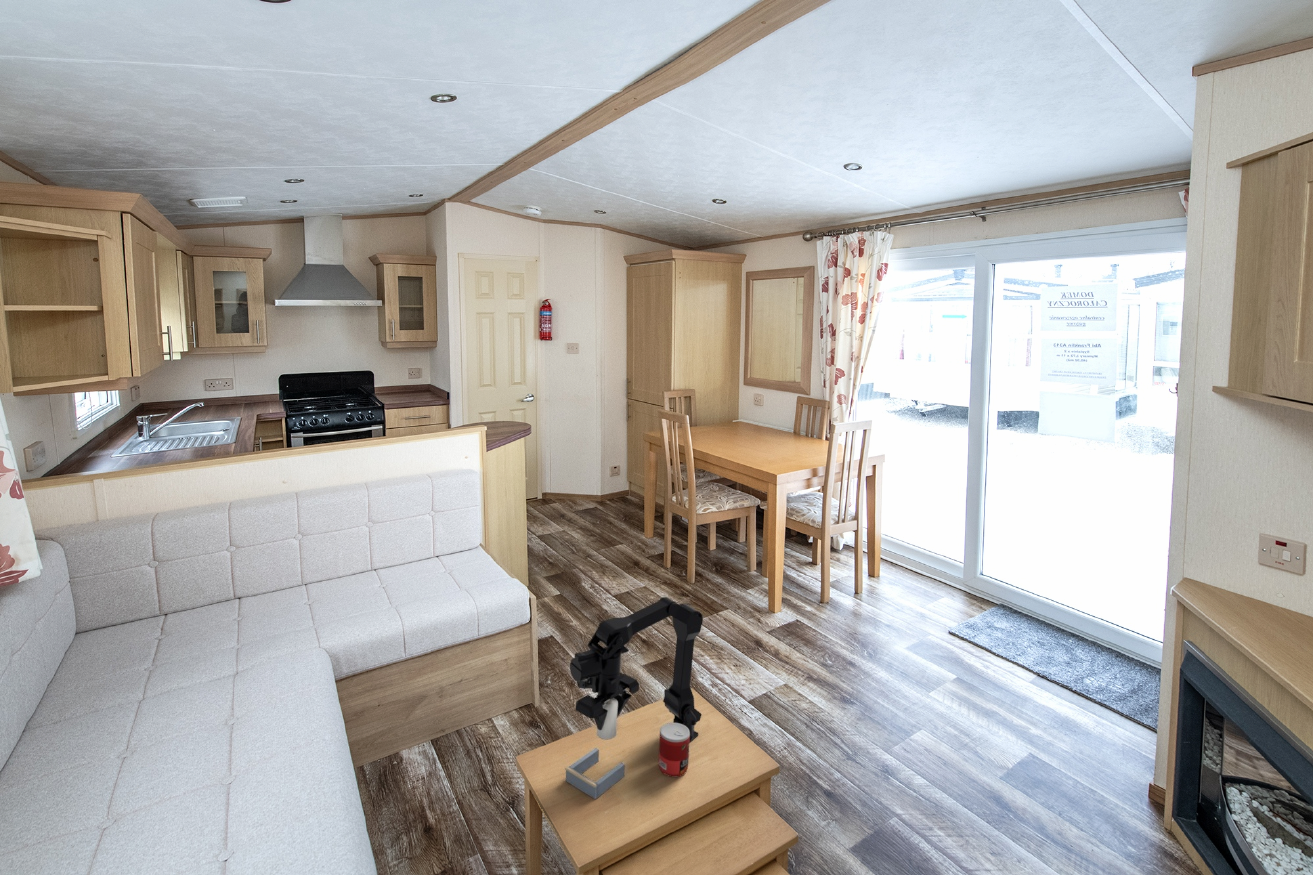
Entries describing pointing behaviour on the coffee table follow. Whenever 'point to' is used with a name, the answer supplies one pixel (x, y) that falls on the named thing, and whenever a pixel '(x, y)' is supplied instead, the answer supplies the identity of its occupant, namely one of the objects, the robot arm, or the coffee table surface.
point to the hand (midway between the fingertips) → (606, 724)
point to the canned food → (674, 749)
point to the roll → (609, 720)
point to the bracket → (587, 784)
